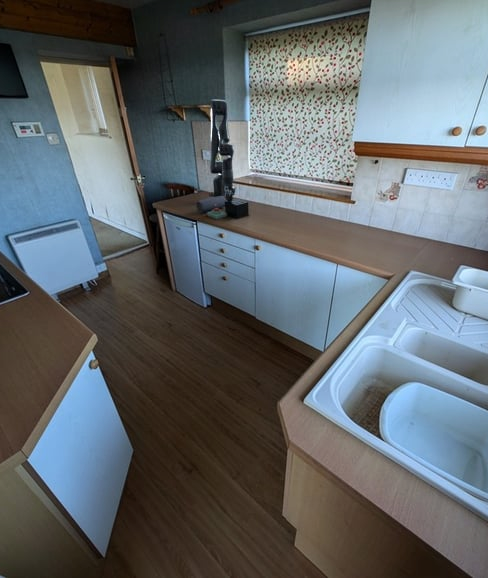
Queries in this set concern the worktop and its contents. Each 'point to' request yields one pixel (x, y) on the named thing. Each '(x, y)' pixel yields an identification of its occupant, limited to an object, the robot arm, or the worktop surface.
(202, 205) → the bluetooth speaker
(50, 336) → the worktop surface
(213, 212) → the button block
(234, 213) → the toaster
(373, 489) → the worktop surface
